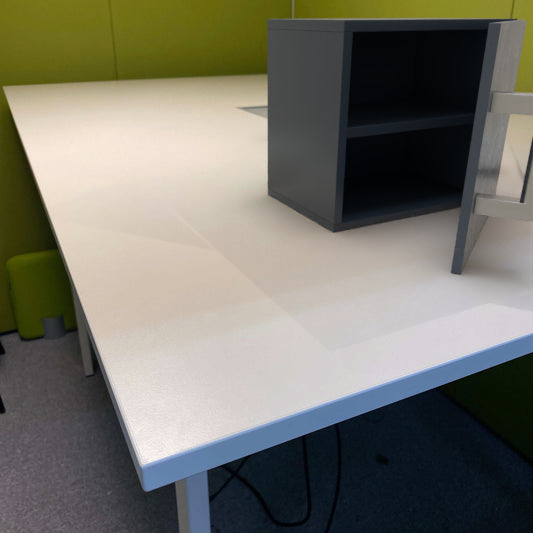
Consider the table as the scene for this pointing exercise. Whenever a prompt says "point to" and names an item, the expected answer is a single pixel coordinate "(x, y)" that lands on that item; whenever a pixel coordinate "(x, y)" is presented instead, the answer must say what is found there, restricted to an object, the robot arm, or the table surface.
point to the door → (494, 141)
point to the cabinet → (372, 115)
